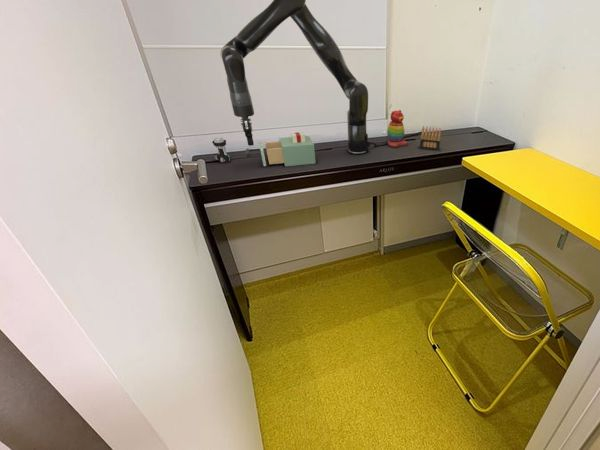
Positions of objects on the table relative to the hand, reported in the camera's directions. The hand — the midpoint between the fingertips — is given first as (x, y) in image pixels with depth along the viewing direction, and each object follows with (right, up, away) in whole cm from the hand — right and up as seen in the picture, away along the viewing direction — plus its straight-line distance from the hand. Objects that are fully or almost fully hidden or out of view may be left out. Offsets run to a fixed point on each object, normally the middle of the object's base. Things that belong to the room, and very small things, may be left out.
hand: (251, 144), depth 134 cm
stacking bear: (+62, +10, +39) cm, 74 cm away
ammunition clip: (+81, +7, +36) cm, 88 cm away
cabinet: (+17, -4, +12) cm, 21 cm away
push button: (-16, -6, +6) cm, 18 cm away
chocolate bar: (+18, +4, +7) cm, 20 cm away
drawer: (+5, -6, +7) cm, 10 cm away
